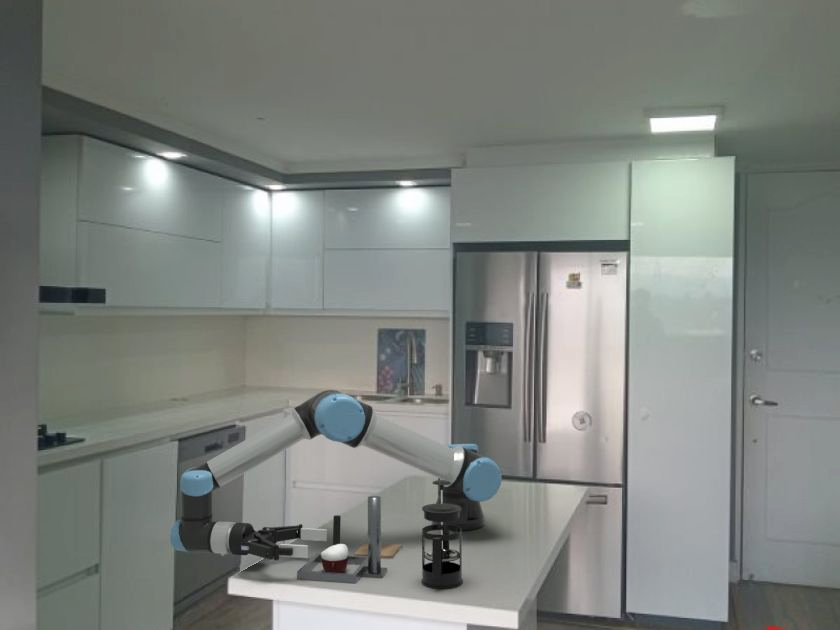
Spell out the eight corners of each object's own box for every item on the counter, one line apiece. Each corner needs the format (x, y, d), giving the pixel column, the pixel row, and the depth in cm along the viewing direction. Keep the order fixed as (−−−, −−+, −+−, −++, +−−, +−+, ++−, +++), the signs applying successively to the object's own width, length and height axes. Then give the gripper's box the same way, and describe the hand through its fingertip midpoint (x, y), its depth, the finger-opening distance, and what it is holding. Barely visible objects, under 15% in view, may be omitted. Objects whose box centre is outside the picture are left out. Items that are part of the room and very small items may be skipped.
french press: (426, 573, 186) (426, 475, 186) (466, 575, 184) (465, 477, 184) (415, 590, 175) (415, 486, 174) (457, 593, 173) (457, 488, 172)
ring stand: (391, 565, 192) (391, 490, 192) (377, 584, 178) (376, 504, 178) (317, 560, 196) (316, 487, 196) (297, 579, 182) (296, 501, 182)
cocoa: (337, 580, 182) (338, 529, 182) (313, 576, 185) (314, 525, 184) (356, 566, 191) (357, 517, 190) (333, 562, 193) (334, 514, 193)
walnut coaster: (401, 546, 207) (401, 544, 207) (392, 558, 197) (392, 556, 197) (364, 544, 209) (364, 542, 209) (354, 556, 199) (354, 553, 199)
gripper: (255, 539, 204) (333, 543, 200) (210, 570, 180) (298, 576, 176) (254, 510, 204) (333, 514, 200) (209, 537, 180) (298, 542, 176)
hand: (317, 543), depth 188 cm, fingers open, 13 cm apart
